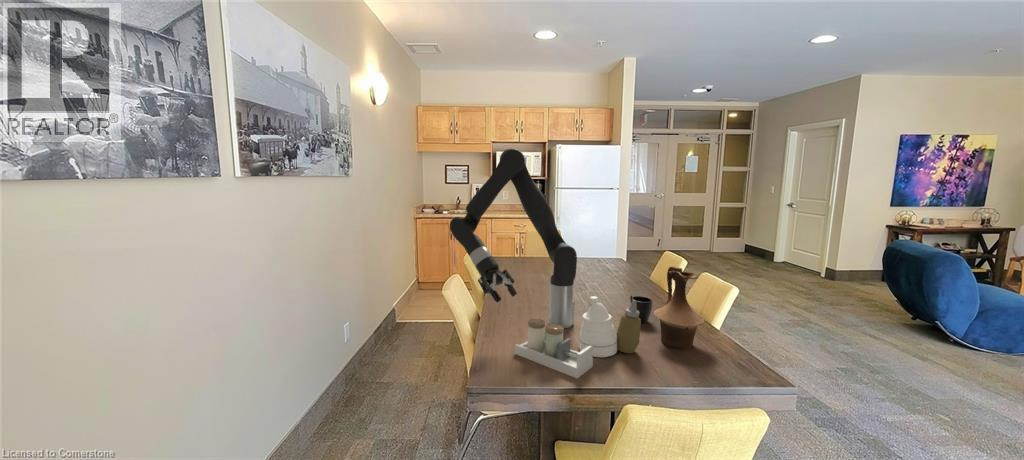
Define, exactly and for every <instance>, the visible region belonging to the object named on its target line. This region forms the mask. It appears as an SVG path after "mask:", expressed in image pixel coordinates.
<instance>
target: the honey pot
mask: <svg viewBox="0 0 1024 460" xmlns="http://www.w3.org/2000/svg"><path fill="white" fill-rule="evenodd" d="M589 298H590V299H589V300H590V302H591V303H593V304H591V306H590V307H589V309H587V310H588V311H586V312H584V313H582V320H583V322H582V325H581V329H580V331H579V343H578V345H579V350H580V351H582V350H583V349H585V348H586V347H588V346H589V345H590V346H592V357H593V358H594V357H595V358H607V357H612V356H614V355H616V354H617V352H618V349H617V334H616V333H617V331H616V329H615V326H614V324H613V322H612V319H613V316H612V315H611V314H610V313H609V312H608V310H607V308H606V307H605V306H604V305H603V303H601V302H598V299H599V298H598V296H595V295H592V296H590V297H589ZM580 351H579V352H580Z"/></svg>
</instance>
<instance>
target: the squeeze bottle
mask: <svg viewBox="0 0 1024 460" xmlns="http://www.w3.org/2000/svg"><path fill="white" fill-rule="evenodd" d="M639 313H640V312H639V311H637V306H636V300H633V301H632V303H631V302H630V306H629V307H628V308H625V309H624V313H623V314H622V315H621V317H620V320H619V323H618V327H617V331H616V334H617V351H620V352H622V353H625V354H633V353H635V352H636V349H637V348H638V346H639V344H640V335H641V328H642V327H641V326H642V325H641V324H642V323H641V319H640V318H639Z"/></svg>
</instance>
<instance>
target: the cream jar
mask: <svg viewBox="0 0 1024 460" xmlns="http://www.w3.org/2000/svg"><path fill="white" fill-rule="evenodd" d="M544 340H546V321H545V320H544V319H540V318H531V319H529V320H528V321H527V341H528V348H529V349H532V350H535V351H537V352H540V353H543V352H544Z"/></svg>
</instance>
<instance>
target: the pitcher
mask: <svg viewBox="0 0 1024 460" xmlns="http://www.w3.org/2000/svg"><path fill="white" fill-rule="evenodd" d="M667 269H668V270H667V272H666V280H667V281H666V282H667V301H666V303H665V304H664V306H662V307H660V308H657V309H655V310H654V312H653V314H654V316H655V317H656V318H658V319H659V322H660V341H661V343H662V344H663V345H664V346H665V345H666V346H667V347H669V348H671V349H672V348H673V349H675V348H677V349H676V350H689V349H691V347H692V348H693V346H694V345H693V344H694V339H695V336H696V332H697V328H698V327H699V326H702V325H704V324H705V323H706V322H705V321H706V320H705V318H704V316H702V315H701V314H700V313H699V312H697V311H696V310H695V309H694V308H693V307H692V306H691V305H690V304H689V302H688V300H687V296H686V294H687V293H686V288H687V287H686V286H687V282H688V281H689V280H695V279H697V278H698V276H697V275H696V273H693V272H689V271H683V268H682V267H679V266H674V265H673V266H669V267H668V268H667ZM672 281H674V292H673V282H672ZM688 348H689V349H688Z"/></svg>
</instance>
